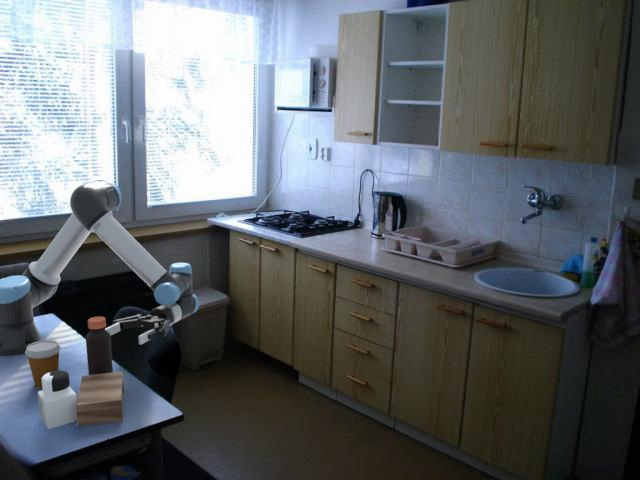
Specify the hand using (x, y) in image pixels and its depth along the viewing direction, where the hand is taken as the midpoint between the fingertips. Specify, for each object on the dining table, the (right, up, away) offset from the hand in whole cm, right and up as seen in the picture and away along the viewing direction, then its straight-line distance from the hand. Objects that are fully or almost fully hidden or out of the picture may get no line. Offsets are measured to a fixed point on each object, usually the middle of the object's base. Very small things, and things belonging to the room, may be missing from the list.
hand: (121, 337), depth 191 cm
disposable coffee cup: (-20, -13, -7) cm, 25 cm away
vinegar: (-4, -13, -6) cm, 15 cm away
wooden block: (+1, -16, -21) cm, 26 cm away
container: (-8, -18, -27) cm, 33 cm away
